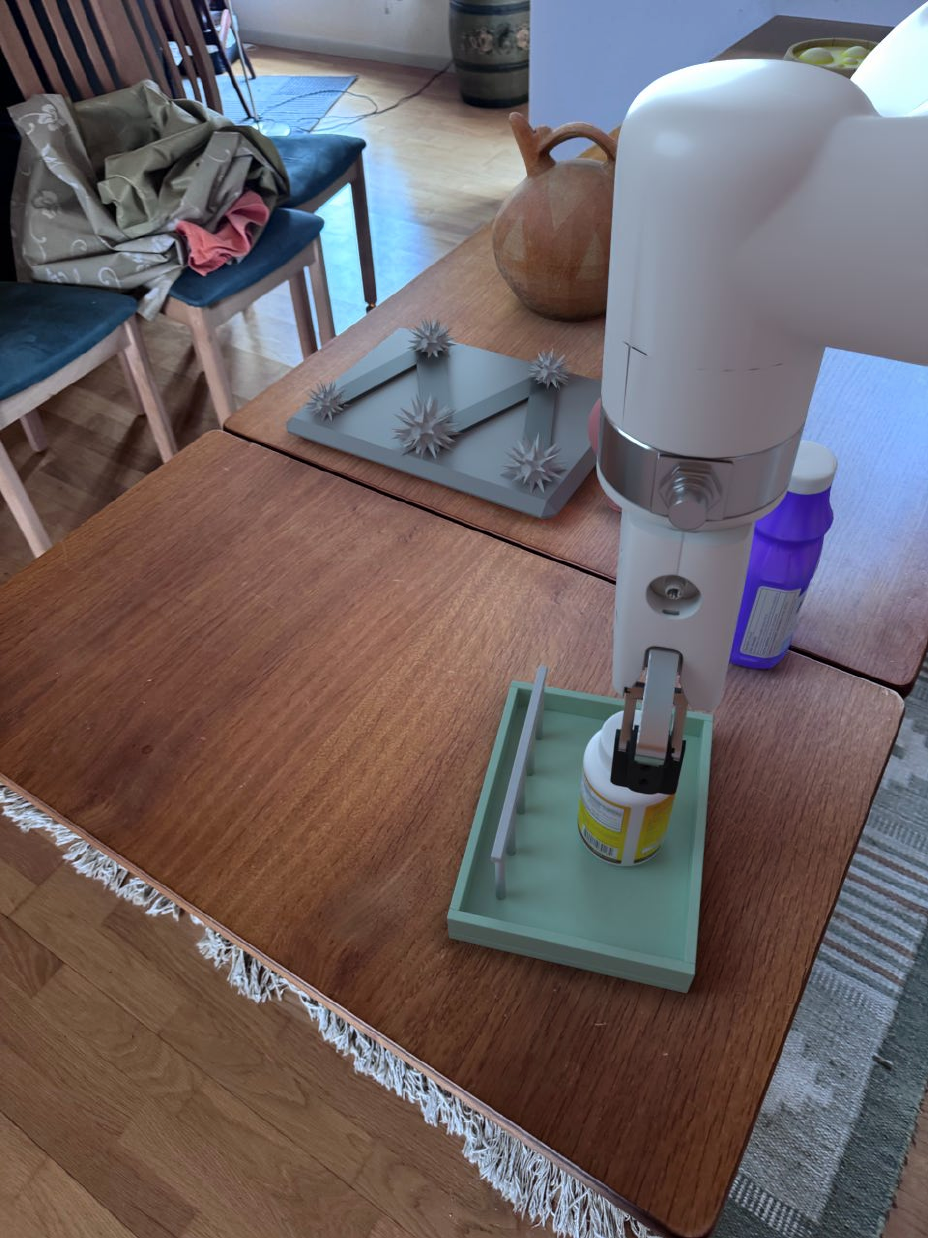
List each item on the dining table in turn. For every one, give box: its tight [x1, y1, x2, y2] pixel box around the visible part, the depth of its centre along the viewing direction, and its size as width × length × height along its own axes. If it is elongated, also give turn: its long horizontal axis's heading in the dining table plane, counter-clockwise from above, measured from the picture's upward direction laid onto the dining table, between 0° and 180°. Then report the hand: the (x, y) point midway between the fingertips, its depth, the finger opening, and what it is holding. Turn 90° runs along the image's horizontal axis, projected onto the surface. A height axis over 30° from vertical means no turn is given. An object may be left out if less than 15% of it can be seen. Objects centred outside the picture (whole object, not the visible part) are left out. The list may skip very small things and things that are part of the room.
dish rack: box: [446, 664, 715, 994], centre depth 54 cm, size 14×18×7 cm
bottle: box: [729, 439, 839, 670], centre depth 61 cm, size 7×6×17 cm
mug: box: [782, 37, 881, 79], centre depth 122 cm, size 19×25×15 cm
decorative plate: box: [285, 316, 602, 521], centre depth 86 cm, size 30×22×7 cm
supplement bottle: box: [578, 710, 681, 866], centre depth 52 cm, size 6×6×10 cm
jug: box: [491, 111, 618, 323], centre depth 98 cm, size 18×18×20 cm
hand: (653, 708), depth 46 cm, fingers open, 9 cm apart
